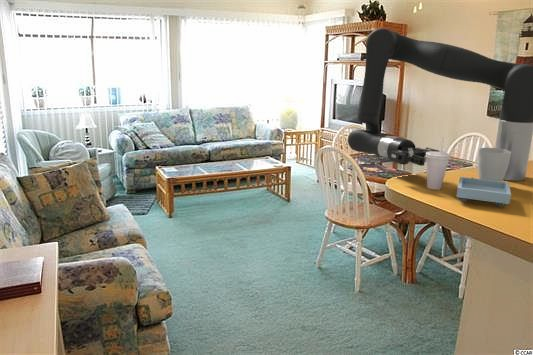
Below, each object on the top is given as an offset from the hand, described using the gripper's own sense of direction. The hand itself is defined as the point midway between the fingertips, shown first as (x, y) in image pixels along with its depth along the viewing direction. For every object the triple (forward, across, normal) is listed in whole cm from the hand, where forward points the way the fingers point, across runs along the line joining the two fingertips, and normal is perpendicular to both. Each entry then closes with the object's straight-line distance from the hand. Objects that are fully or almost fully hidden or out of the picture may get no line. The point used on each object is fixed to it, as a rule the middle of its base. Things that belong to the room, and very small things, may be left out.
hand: (435, 160), depth 122 cm
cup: (+4, +17, +8) cm, 19 cm away
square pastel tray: (+14, +3, +8) cm, 16 cm away
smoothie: (0, 0, +8) cm, 8 cm away
